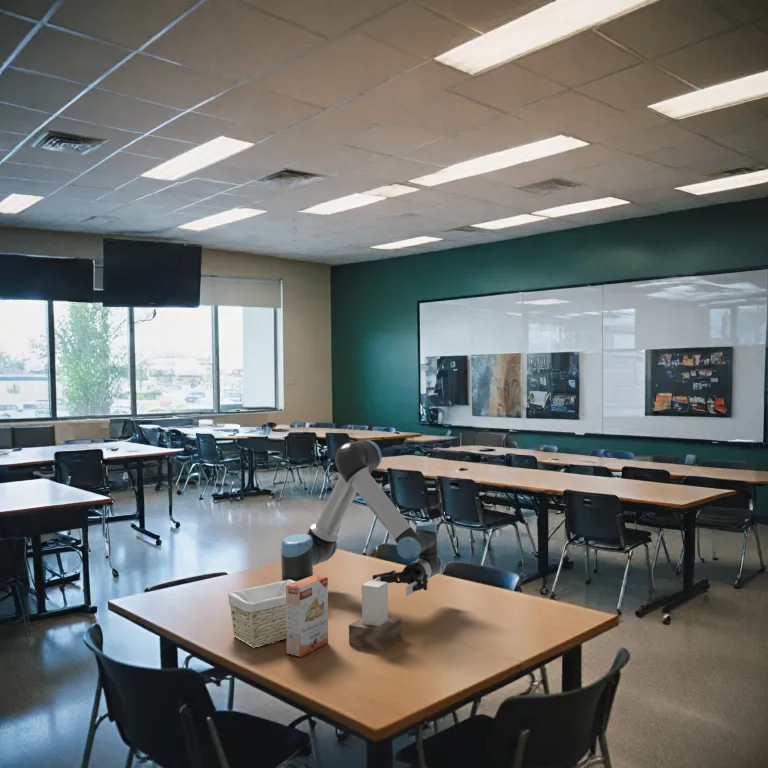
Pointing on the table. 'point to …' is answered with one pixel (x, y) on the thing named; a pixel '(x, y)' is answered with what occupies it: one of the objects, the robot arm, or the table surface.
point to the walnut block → (375, 634)
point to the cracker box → (306, 615)
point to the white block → (374, 603)
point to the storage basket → (260, 613)
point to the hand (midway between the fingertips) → (388, 588)
